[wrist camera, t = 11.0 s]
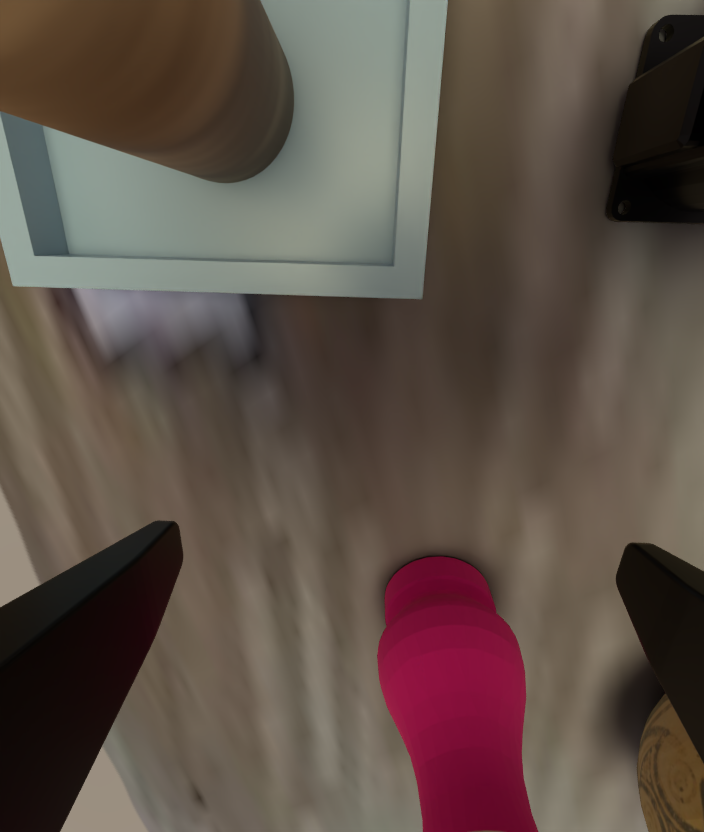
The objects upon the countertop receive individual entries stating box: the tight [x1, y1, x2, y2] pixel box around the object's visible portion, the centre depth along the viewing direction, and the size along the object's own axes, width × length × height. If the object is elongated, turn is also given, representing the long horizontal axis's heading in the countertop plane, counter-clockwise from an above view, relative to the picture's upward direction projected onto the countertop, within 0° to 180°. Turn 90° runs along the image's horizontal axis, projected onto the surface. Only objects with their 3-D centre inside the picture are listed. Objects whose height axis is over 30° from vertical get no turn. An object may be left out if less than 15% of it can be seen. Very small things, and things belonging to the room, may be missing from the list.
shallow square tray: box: [0, 0, 448, 299], centre depth 15 cm, size 14×12×5 cm
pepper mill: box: [377, 556, 538, 832], centre depth 17 cm, size 7×7×20 cm
